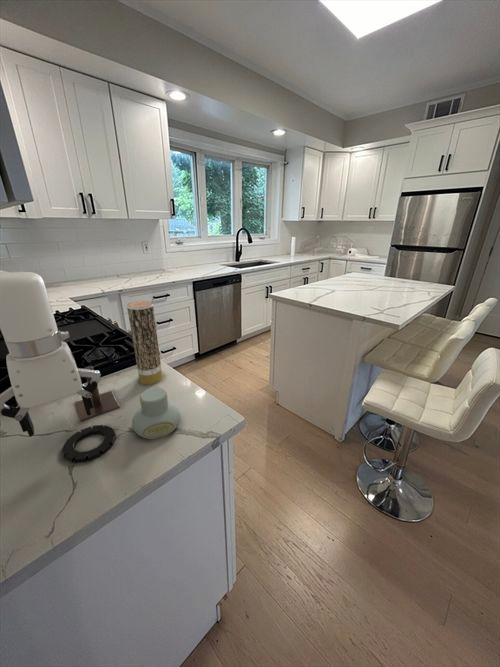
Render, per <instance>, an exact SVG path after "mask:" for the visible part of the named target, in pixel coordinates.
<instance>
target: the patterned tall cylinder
mask: <svg viewBox="0 0 500 667" xmlns="http://www.w3.org/2000/svg"><path fill="white" fill-rule="evenodd" d="M126 308H127V314H128V322H129V327H130V333H131V338H132V344H133V345H132V346H133V350H134V351H133V352H134V356H135V363H136V368H137V373H138V380H139V383H140V384H142V385H154V384H157V383H159V382H161V381H162V379H163V371H162V362H161V356H160V355H161V354H160V346H159V339H158V332H157V323H156V316H155V308H154V302H152V301H149V300H139V301H132V302H129V303H127V305H126Z"/></svg>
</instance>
